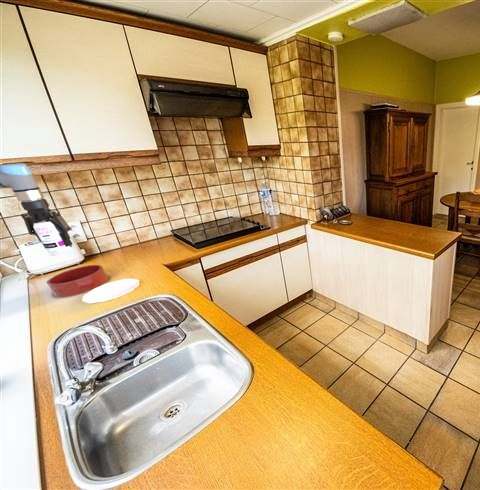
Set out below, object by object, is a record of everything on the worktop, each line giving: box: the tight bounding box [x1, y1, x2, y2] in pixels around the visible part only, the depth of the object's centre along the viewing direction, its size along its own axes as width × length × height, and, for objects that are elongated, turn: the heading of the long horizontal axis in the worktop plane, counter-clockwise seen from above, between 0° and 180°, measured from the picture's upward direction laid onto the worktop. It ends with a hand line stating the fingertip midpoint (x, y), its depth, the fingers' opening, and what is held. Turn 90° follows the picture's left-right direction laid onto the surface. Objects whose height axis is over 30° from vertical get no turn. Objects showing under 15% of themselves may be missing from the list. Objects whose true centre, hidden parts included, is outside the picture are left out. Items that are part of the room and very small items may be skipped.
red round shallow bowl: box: [46, 264, 109, 298], centre depth 135 cm, size 20×20×7 cm
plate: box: [81, 278, 140, 304], centre depth 128 cm, size 21×21×2 cm
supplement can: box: [33, 220, 73, 255], centre depth 125 cm, size 8×8×15 cm
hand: (59, 246), depth 127 cm, fingers closed on supplement can, 8 cm apart
